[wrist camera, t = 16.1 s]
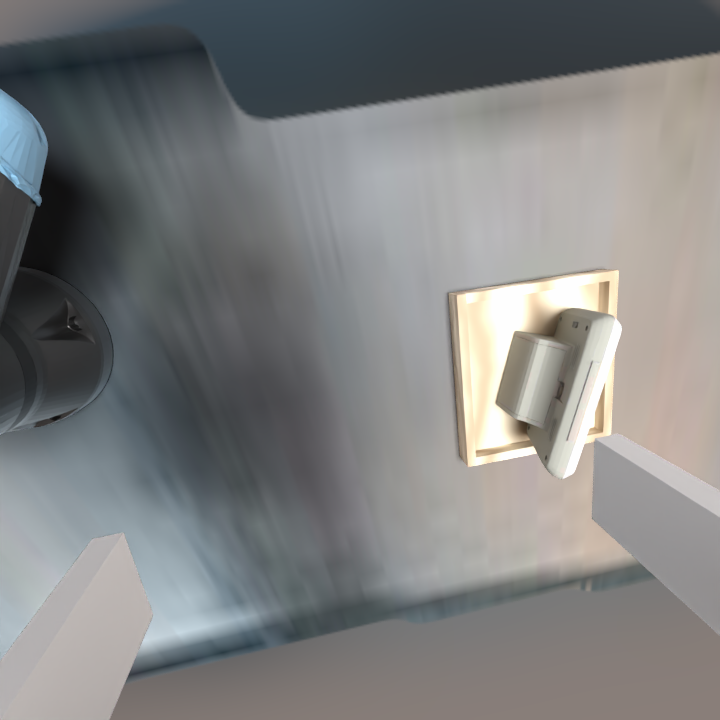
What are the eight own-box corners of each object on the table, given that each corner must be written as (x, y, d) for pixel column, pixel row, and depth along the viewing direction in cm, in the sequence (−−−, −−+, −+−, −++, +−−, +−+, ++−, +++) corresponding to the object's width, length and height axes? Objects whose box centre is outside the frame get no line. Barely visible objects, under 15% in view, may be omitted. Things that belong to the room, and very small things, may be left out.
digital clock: (534, 442, 47) (597, 494, 37) (471, 421, 45) (519, 469, 35) (598, 318, 44) (686, 337, 34) (533, 290, 42) (605, 301, 32)
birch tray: (459, 456, 48) (468, 466, 45) (448, 293, 42) (456, 295, 40) (595, 429, 49) (610, 438, 47) (601, 269, 44) (618, 269, 41)
